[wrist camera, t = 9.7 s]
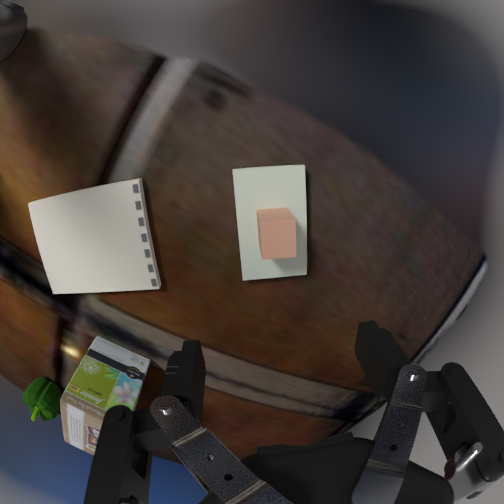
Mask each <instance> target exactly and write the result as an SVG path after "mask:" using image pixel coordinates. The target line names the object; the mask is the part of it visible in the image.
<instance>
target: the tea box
mask: <svg viewBox="0 0 504 504" xmlns="http://www.w3.org/2000/svg"><path fill="white" fill-rule="evenodd" d="M149 363H150V359H147V358H145V357H143V356H141V355H139V354H136V353H134V352H132V351H130V350H127V349H125V348H123V347H121V346H119V345H116V344H114V343H112V342H110V341H108V340H106V339H104V338H101V337H99V336H98V337H96V338H95V340H94V341H93V343H92V344H91V346H90V348H89V349H88V352H87V353H86V354H85V356H84V358H83V359H82V361H81V363H80V365H79V366H78V368H77V370H76V371H75V373H74V375H73V377H72V379H71V380H70V382H69V384H68V385H67V387H66V389H65V391H64V393H63V395H62V397H61V399H60V408H61V418H62V426H63V434H64V440H65V441H66V442H67V443H69V444H71V445H73V446H75V447H77V448H79V449H82V450H84V451H86V452H88V453H91V454H93V455H94V453H95V449H96V445H97V441H98V437H99V433H100V429H101V426H102V422H103V419H104V415H105V413H106V411H107V410H108V409H109V408H111V407H113V406H115V405H125V406H127V407H129V408H130V409H131V410H132V411H135V408H136V404H137V401H138V398H139V395H140V392H141V389H142V386H143V382H144V379H145V376H146V373H147V370H148V366H149Z"/></svg>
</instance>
